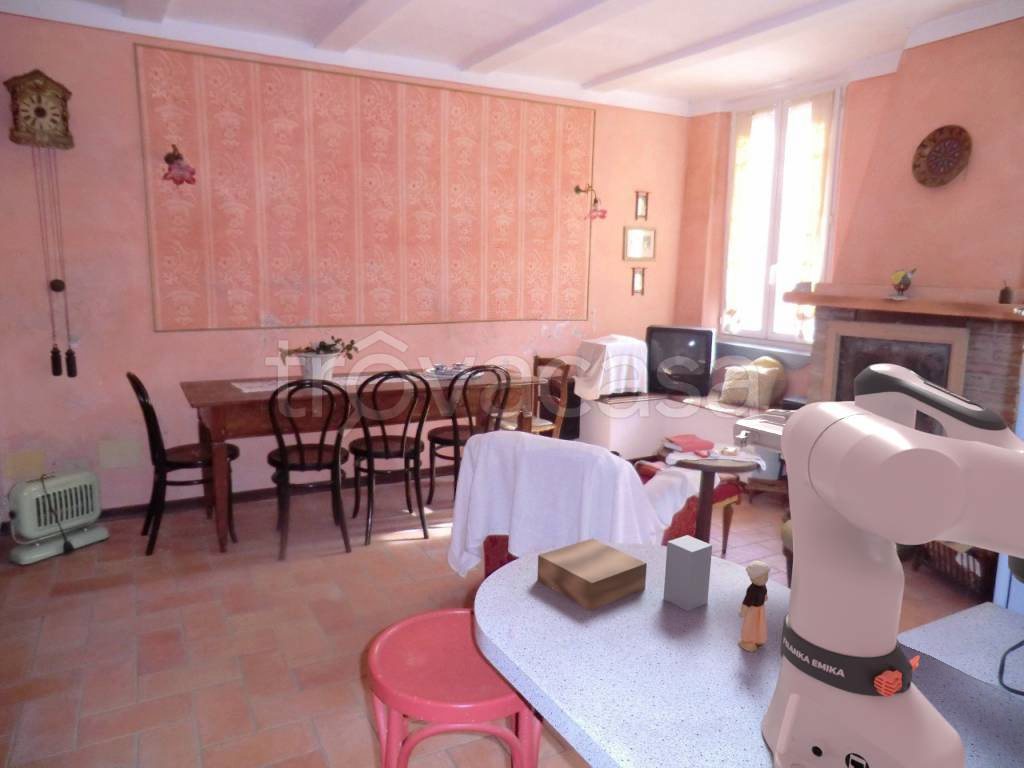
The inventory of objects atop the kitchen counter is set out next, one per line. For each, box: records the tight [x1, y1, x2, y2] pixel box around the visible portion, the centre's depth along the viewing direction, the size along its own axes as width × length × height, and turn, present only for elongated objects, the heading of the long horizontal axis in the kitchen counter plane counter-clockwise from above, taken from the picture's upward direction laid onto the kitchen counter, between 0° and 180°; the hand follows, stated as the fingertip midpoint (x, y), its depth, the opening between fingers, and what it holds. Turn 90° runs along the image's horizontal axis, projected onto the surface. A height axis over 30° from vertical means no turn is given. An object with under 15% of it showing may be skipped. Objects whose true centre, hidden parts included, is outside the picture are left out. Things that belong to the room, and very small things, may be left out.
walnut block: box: [536, 538, 648, 611], centre depth 117 cm, size 13×13×5 cm
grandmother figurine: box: [737, 560, 771, 653], centre depth 100 cm, size 8×4×13 cm, turn 147°
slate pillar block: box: [663, 534, 713, 612], centre depth 112 cm, size 5×5×10 cm
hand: (759, 448), depth 117 cm, fingers open, 8 cm apart
